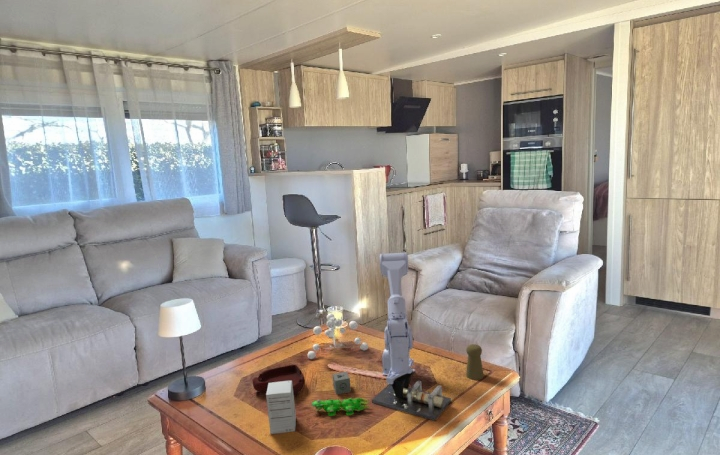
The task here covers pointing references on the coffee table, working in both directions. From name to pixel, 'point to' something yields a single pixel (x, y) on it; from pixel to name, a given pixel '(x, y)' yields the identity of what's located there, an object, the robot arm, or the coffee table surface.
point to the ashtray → (280, 378)
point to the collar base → (409, 405)
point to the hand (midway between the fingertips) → (401, 394)
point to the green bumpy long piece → (341, 405)
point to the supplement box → (281, 407)
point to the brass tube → (423, 398)
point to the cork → (474, 362)
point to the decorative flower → (330, 333)
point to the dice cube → (341, 383)
